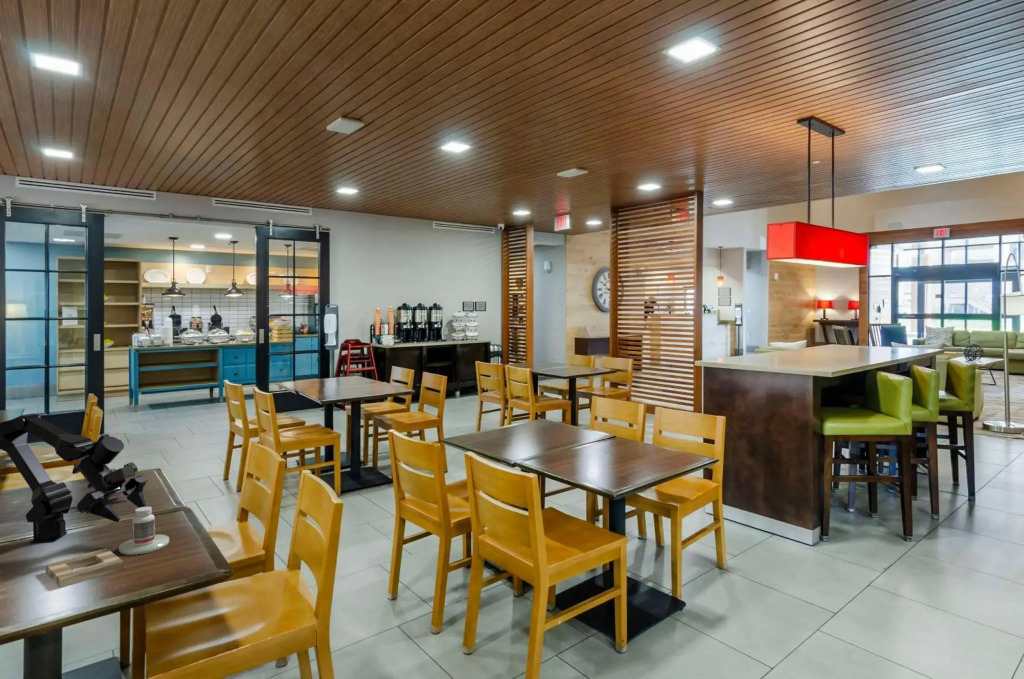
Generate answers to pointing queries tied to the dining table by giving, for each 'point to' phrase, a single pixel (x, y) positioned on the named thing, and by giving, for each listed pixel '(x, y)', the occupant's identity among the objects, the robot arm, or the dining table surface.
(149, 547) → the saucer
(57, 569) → the socket block
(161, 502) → the dining table surface
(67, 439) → the robot arm
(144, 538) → the pill bottle
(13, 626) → the dining table surface
